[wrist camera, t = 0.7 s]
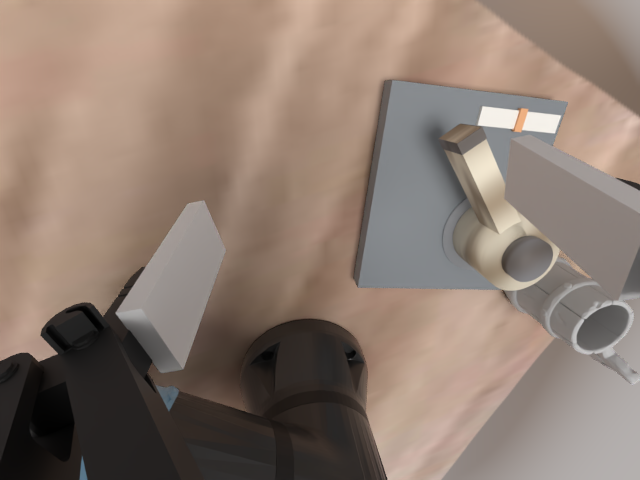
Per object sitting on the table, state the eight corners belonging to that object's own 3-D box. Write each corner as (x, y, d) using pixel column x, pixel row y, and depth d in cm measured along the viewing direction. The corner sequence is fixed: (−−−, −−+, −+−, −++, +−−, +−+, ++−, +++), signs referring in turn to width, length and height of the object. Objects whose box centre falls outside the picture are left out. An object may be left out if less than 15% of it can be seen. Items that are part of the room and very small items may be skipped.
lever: (525, 238, 36) (578, 267, 30) (468, 274, 36) (508, 310, 30) (468, 104, 29) (521, 106, 23) (400, 151, 30) (434, 165, 24)
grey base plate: (490, 281, 40) (504, 292, 38) (353, 278, 37) (359, 290, 35) (551, 101, 33) (572, 102, 30) (384, 80, 30) (394, 79, 27)
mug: (548, 236, 39) (658, 292, 28) (575, 302, 44) (677, 372, 33) (491, 273, 40) (575, 340, 29) (523, 334, 44) (606, 412, 34)
